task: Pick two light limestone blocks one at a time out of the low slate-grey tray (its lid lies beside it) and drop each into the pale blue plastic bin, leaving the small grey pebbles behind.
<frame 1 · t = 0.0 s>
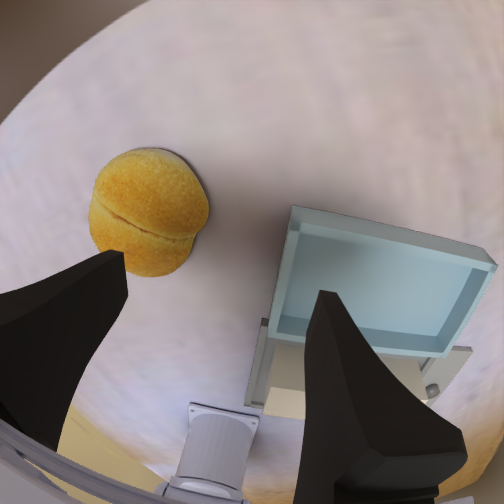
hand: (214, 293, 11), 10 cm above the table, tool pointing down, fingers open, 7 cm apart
slate tray: (337, 377, 27), on the table
bread roll: (152, 207, 22), on the table
blue bin: (380, 283, 22), on the table
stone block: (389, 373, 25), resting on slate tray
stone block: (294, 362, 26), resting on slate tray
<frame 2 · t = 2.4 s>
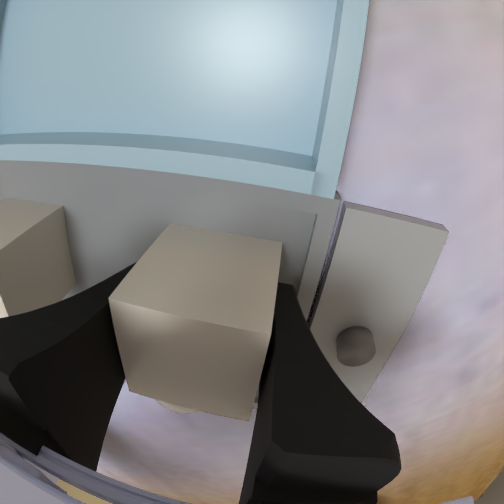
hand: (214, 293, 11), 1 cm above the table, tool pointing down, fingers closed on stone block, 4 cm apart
slate tray: (124, 286, 14), on the table
blue bin: (124, 27, 8), on the table
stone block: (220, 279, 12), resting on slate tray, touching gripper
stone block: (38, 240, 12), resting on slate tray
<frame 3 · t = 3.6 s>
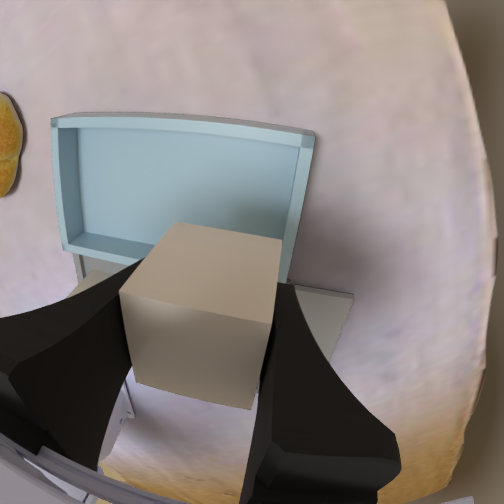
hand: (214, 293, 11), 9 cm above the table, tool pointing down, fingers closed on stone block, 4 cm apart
slate tray: (174, 321, 24), on the table
blue bin: (174, 187, 19), on the table
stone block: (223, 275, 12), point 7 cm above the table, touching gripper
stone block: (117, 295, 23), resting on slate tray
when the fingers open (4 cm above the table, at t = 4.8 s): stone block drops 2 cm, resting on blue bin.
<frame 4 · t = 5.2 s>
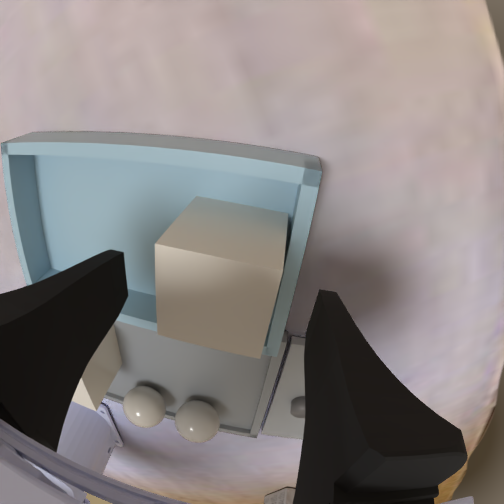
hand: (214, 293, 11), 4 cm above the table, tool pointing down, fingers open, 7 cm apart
slate tray: (156, 366, 20), on the table
coffee box: (304, 495, 32), on the table
pebble a: (151, 390, 21), resting on slate tray
pebble b: (202, 404, 21), resting on slate tray
blue bin: (145, 224, 15), on the table
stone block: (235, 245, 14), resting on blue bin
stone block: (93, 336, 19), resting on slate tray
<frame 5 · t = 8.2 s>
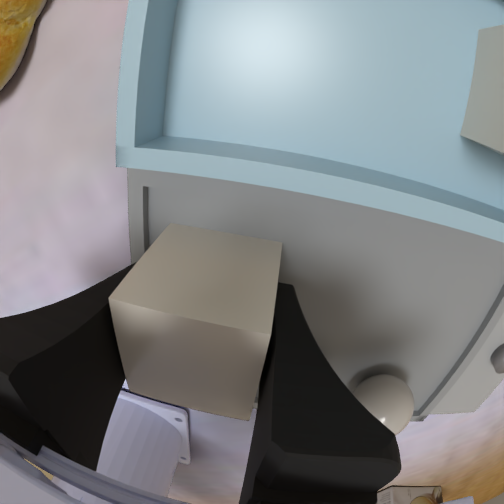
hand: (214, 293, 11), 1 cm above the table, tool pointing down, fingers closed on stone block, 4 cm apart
slate tray: (324, 326, 13), on the table
bread roll: (2, 20, 8), on the table
coffee box: (399, 493, 24), on the table
pebble b: (376, 381, 14), resting on slate tray
blue bin: (395, 55, 8), on the table
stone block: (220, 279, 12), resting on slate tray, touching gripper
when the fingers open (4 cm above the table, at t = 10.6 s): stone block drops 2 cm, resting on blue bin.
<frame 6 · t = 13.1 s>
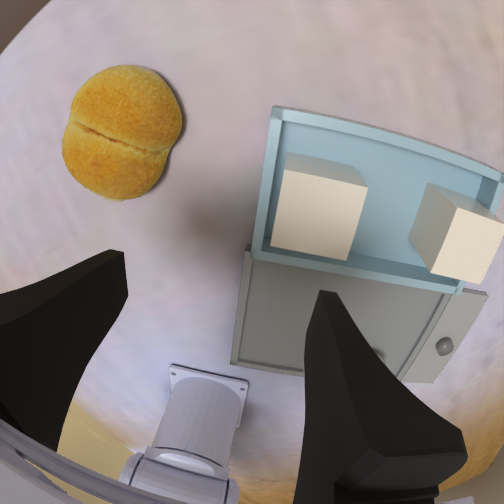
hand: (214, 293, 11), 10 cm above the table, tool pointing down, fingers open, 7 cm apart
slate tray: (336, 326, 24), on the table
bread roll: (127, 130, 19), on the table
blue bin: (379, 199, 19), on the table
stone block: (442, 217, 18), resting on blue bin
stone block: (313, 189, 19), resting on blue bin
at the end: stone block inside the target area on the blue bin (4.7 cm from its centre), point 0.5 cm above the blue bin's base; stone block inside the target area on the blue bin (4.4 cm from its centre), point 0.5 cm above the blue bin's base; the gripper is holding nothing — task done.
